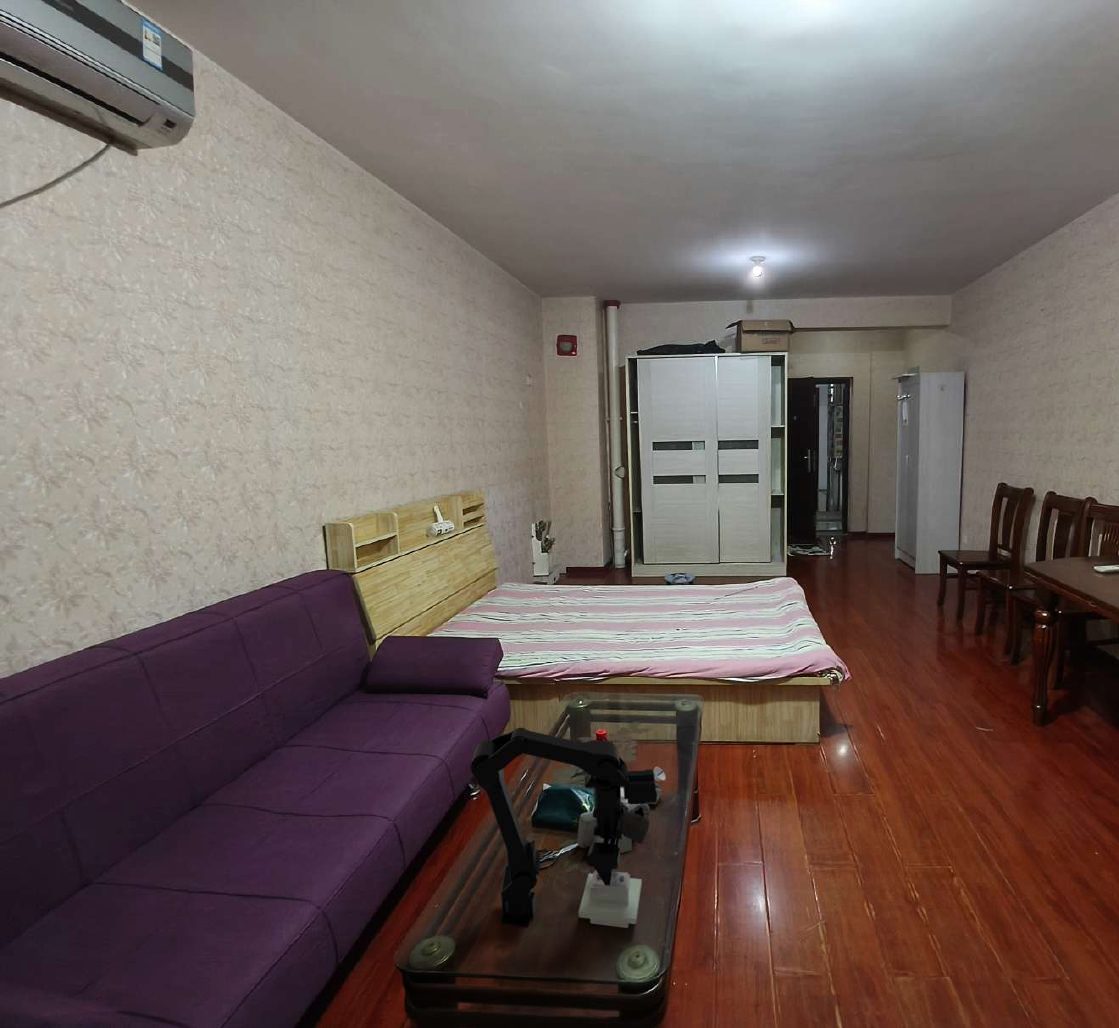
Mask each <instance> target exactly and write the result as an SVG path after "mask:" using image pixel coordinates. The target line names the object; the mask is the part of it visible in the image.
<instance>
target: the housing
mask: <svg viewBox="0 0 1119 1028" xmlns="http://www.w3.org/2000/svg"><path fill="white" fill-rule="evenodd" d="M592 874H593V878H592V883H591V902H599V903H610V904H622V905H629V898H630V878H631V874H629V873H628V872H623V871H612V876H611V882H610V886H607V885H605V884H604V883H603V881H602V879H601V878H600V876H599V874H598V873H597V871H596V870H595V869H594V871H593V873H592Z"/></svg>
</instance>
